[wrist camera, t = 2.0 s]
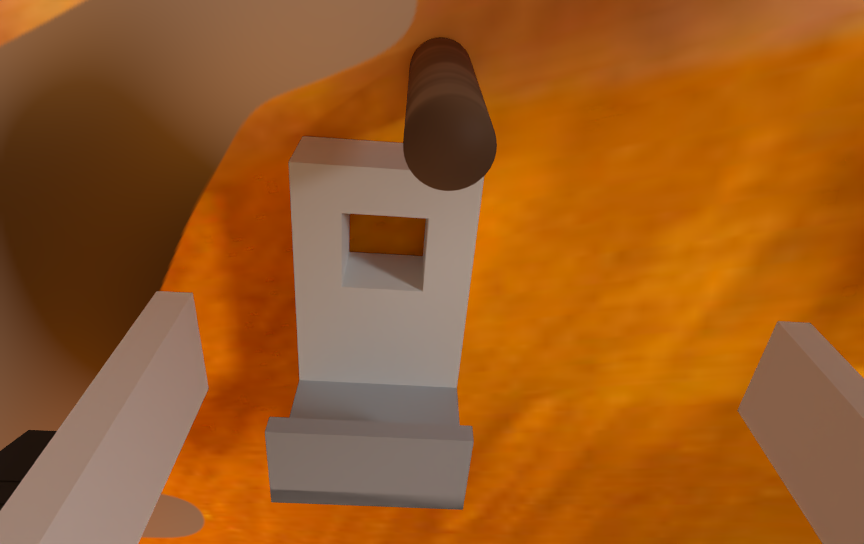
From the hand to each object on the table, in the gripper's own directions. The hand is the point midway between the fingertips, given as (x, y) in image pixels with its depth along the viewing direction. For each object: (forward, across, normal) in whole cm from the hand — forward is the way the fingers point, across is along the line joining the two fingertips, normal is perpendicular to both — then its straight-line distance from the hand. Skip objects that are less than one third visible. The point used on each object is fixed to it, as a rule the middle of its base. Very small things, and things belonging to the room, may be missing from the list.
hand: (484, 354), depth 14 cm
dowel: (+29, 0, 0) cm, 29 cm away
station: (+29, -3, -14) cm, 32 cm away
